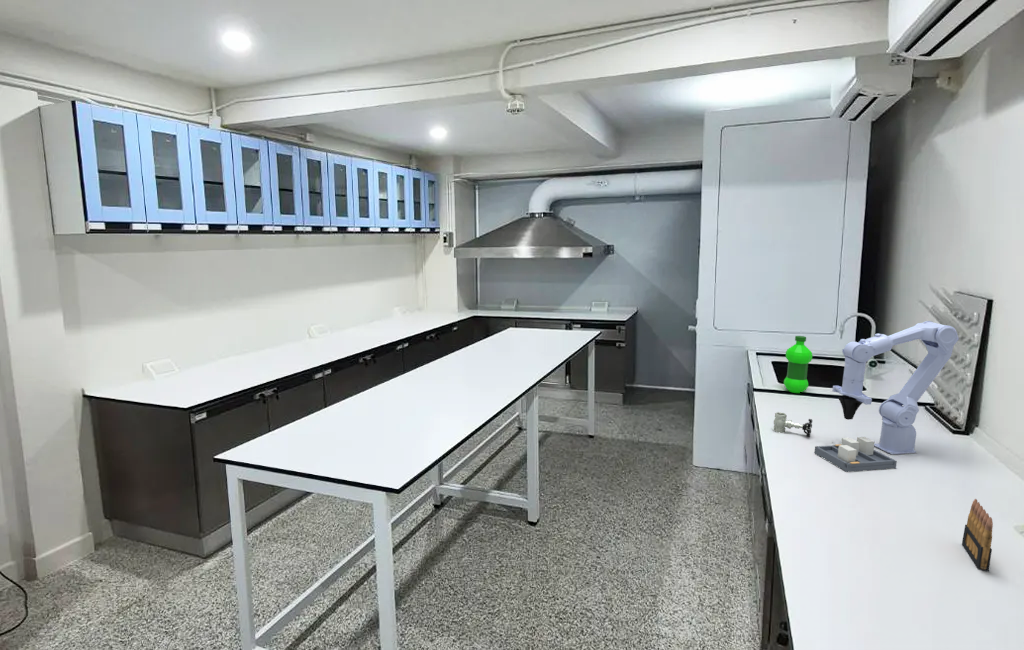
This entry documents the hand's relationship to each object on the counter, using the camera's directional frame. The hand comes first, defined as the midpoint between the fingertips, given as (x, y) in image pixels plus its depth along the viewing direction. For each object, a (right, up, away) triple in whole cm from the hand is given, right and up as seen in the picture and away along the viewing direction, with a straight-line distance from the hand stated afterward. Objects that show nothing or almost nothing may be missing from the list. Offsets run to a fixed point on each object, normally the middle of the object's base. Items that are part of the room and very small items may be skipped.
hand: (848, 418), depth 183 cm
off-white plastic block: (-8, -11, -12) cm, 18 cm away
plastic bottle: (+16, +1, +66) cm, 68 cm away
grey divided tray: (-3, -12, -8) cm, 14 cm away
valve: (-11, -8, +15) cm, 21 cm away
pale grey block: (+2, -10, -5) cm, 11 cm away
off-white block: (-3, -10, -6) cm, 12 cm away
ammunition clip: (-7, -21, -59) cm, 63 cm away
